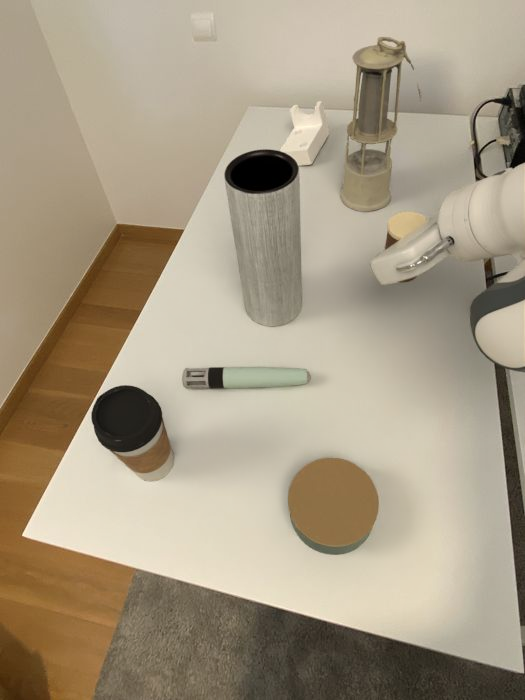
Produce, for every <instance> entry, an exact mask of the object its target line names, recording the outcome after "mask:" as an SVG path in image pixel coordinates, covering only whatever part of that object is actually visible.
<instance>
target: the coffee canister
mask: <svg viewBox="0 0 525 700" xmlns="http://www.w3.org/2000/svg"><path fill="white" fill-rule="evenodd" d="M428 220H429V219H428V218H427V217H425V215H423V214H421V213H418V212H414V211H402V212H398V213H396V214H394V215H392V216H391V217H390V218H389V219H388V222H387V226H386V227H387V232H386V238H385V246H384V250H385V249H387V248H389V247H390V246H392V245H393V244H395V243H396V242H398V241H399V240H400V239H402V238H403V237H405V236H406V235H408V234H409V233H411V232H412V231H413V230H415V229H416V228H418V227H419V226H421V225H422V224H424V223H425V222H426V221H428ZM417 277H418V276H415V277H413V278H410V279H407V280H403V281H400V282H397V284H405V283H411V282H412V281H414V280H415V279H417Z"/></svg>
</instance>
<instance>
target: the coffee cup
mask: <svg viewBox="0 0 525 700" xmlns="http://www.w3.org/2000/svg"><path fill="white" fill-rule="evenodd" d="M90 415H91V422H92V426H93V431H94V434H95V435H96V438H97V440H98V442H99V443H100V445H101V446H103V447H104V448H105V449H106V450H109V452H111V453H112V454H113V455H114V456H115V457H116V458H118V460H120V461H121V463H123V465H125V466H126V467H127V468H128V469H129V470H131V472H132V473H134V474H135V475H136V476H137V477H138V478H139V479H141V480H143V481H146V482H156V481H159V480H161V479H164V478H165V477H166V476H167V475H168V474H169V473H170V472H171V470H172V469H173V466H174V462H175V455H174V451H173V448H172V445H171V441H170V438H169V434H168V432H167V428H166V425H165V421H164V417H163V411H162V407H161V405H160V404H159V402H158V401H157V400H156V398H155V397H154V396H152V395H151V394H150V393H148V392H147V391H146V390H144V389H142V388H140V387H138V386H134V385H127V384H124V385H118V386H114V387H111V388H109V389H108V390H106V391H104V392H103V393H102V394H100V395H99V396H98V397H97V398H96V400H95V402H94V404H93V407H92V410H91V414H90Z"/></svg>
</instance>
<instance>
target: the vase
mask: <svg viewBox="0 0 525 700" xmlns="http://www.w3.org/2000/svg"><path fill="white" fill-rule="evenodd" d="M223 176H224V184H225V190H226V196H227V202H228V203H227V204H228V209H229V215H230V221H231V228H232V234H233V240H234V246H235V254H236V258H237V265H238V270H239V271H238V272H239V276H240V282H241V290H242V294H243V295H242V297H243V303H244V306H245V311H246V313H247V315H248V317H249V318H250V319H251V320H252V321H253V322H255V323H257V324H259V325H261V326H266V327H276V326H277V327H279V326H283V325H287V324H288V323H290V322H292V321H293V320H294V319H295V318H296V317H298V315H299V314H300V312H301V310H302V307H303V306H302V305H303V282H302V281H303V277H302V235H301V233H302V231H301V227H302V226H301V189H300V188H301V187H300V186H301V184H300V166H298V164H297V162H296V161H295V159H294V158H292V157H291V156H290V155H288V154H286V153H284V152H281V151H280V150H276V149H267V148H264V149H263V148H262V149H256V150H255V149H254V150H250V151H247V152H244V153H242V154H239V155H238V156H236V157H235V158H233V159H232V160H231V161H230V162H229V163H228V164H227V166H226V167H225V170H224V174H223Z"/></svg>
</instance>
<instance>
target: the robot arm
mask: <svg viewBox="0 0 525 700" xmlns="http://www.w3.org/2000/svg"><path fill="white" fill-rule="evenodd" d="M449 255H452V256H453V257H454V258H456V259H458V260H460V261H462V262H465V263H473V262H479V261H484V260H488V259H492V258H497V257H502V256H503V257H504V256H506V255H507V256H512V257H514V258H515V260H516V262H517V264H516V265H515V266H514V267H513V268H511V269H510V270H509V271H508V272H507V273H506V274H504V275H503V276H502V277H501V278H500V279H498V281H496V282H495V283H493V284H491V285H490V286H488V287H487V288H485V289H484V290H483V291H481V292H480V293H479V294H477V295H476V296H475V297H474V298H473V299H472V301H471V304H470V306H469V307H470V308H469V323H470V331H471V334H472V337H473V341H474V343H475V345H476V347H477V349H478V350H479V352H480V353H481V354H482V355H483V356H484V357H485V358H486V359H487V360H489V361H490V362H491V363H493V364H494V365H497V366H498V367H500V368H503V369H506V370H510V371H513V372H519V373H525V162H523V163H521V164H518V165H517V166H515V167H514V168H513V167H508V168H504V169H502V170H500V171H498V172H496V173H494V174H492V175H491V176H487V177H485V178H482V179H479V180H477V181H475V182H474V181H473V182H472V183H470V184H467V185H464V186H462V187H459V188H456V189H455V190H452V191H451V192H450V193H449V194H448V195H447V196H446V197H445V199H444V200H443V201H442V204H441V206H440V208H439V212H438V213H436V214H435V215H434V216H432V217H431V218H429V219H428V221H426V222H425V223H424V224H422V225H421V226H419V227H418V228H416V229H415V230H413V231H412V232H411V233H409V234H408V235H406V236H405V237H403V238H402V239H400V240H399V241H398V242H396V243H395V244H393V245H392V246H390V247H389V248H387V249H385V248H384V250H382V251H380V252H379V254H377V255H375V257H373V258H372V259H371V260H370V268H371V270H372V272H373V274H374V276H375V278H376V280H377V281H378V283H379V284H380V285H382V286H387V285H391V284H396V283H398V282H400V281H403V280H407V279H410V278H413V277H415V276H417V277H418V276H420V275H423V274H424V273H426V272H427V271H429V270H431V268H433V267H434V266H436V265H437V264H439V263H440V262H441V261H443V260H444V259H445V258H446V257H448V256H449Z"/></svg>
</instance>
